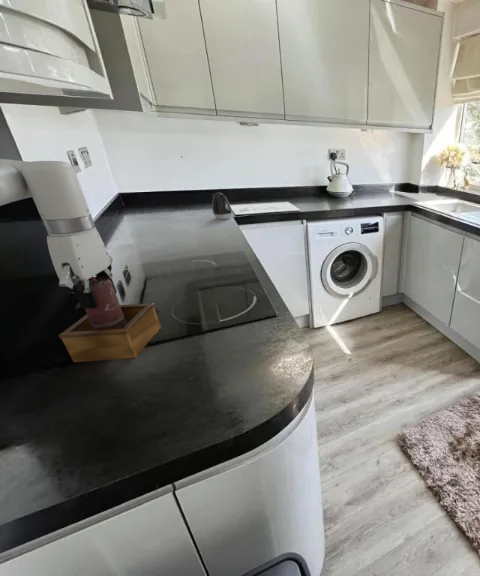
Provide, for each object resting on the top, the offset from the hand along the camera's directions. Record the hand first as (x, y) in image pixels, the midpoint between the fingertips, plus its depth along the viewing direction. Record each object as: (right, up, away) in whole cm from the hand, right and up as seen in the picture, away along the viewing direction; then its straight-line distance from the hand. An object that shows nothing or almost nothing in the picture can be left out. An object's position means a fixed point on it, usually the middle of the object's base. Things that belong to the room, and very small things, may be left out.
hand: (99, 300), depth 75 cm
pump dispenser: (-30, +44, +119) cm, 130 cm away
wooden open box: (0, -11, +6) cm, 13 cm away
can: (0, -8, +4) cm, 9 cm away
